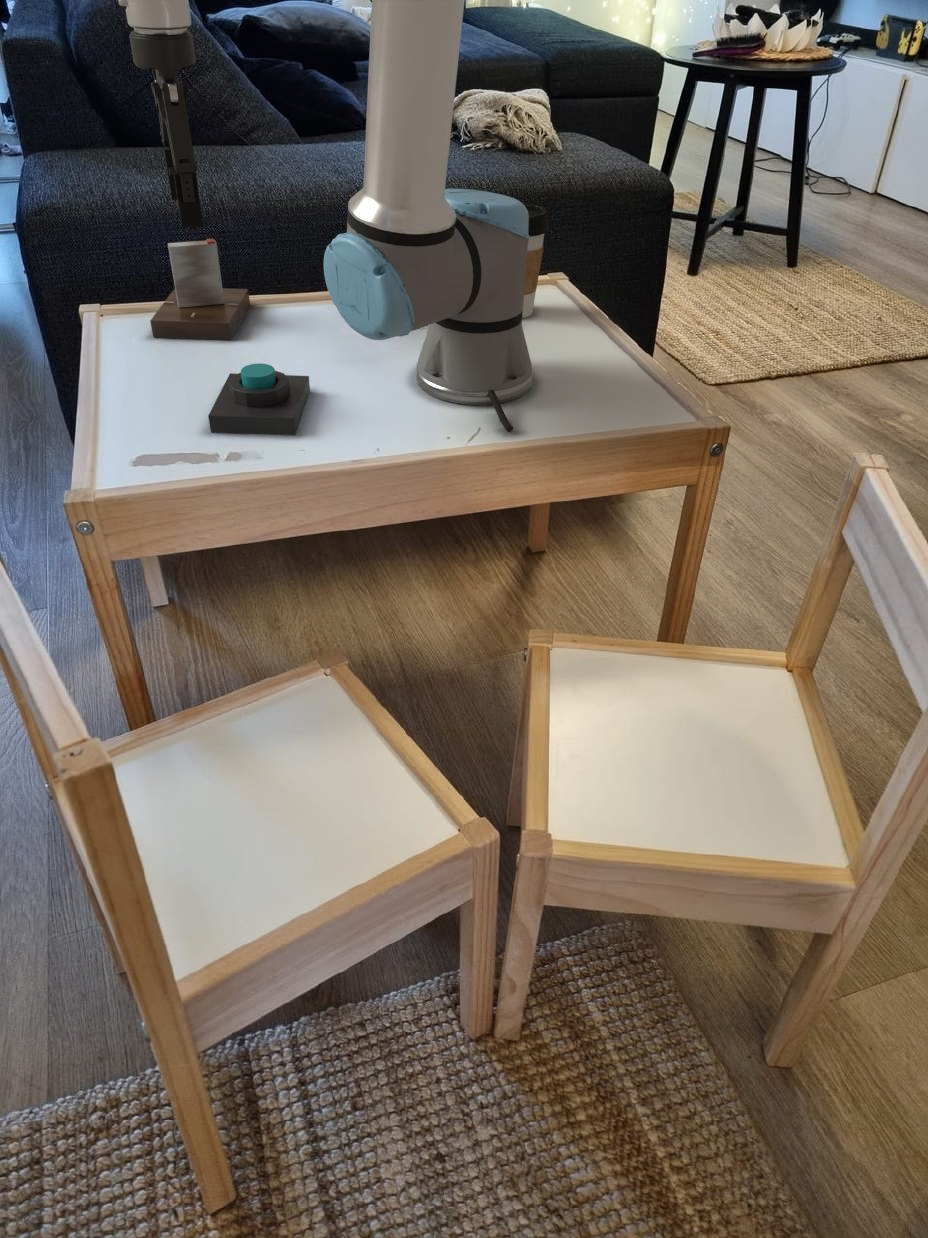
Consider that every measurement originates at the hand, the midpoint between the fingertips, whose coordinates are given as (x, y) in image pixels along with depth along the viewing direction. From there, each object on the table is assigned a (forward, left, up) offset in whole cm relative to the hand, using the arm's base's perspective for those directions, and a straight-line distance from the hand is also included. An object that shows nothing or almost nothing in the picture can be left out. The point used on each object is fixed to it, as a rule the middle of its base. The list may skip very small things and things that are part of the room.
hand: (186, 212), depth 126 cm
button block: (-29, -14, -15) cm, 36 cm away
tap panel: (0, 0, -15) cm, 15 cm away
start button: (-29, -14, -11) cm, 34 cm away
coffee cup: (+8, -46, -15) cm, 49 cm away
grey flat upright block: (0, 0, -13) cm, 13 cm away
